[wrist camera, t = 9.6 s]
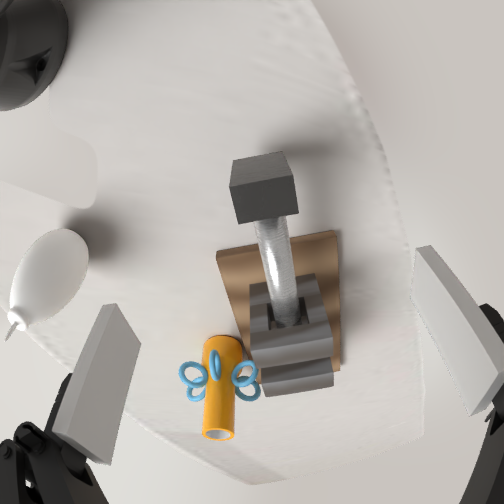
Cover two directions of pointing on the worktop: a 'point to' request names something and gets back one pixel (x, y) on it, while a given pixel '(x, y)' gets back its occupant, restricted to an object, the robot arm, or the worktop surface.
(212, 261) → the worktop surface
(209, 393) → the cylinder
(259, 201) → the shaft
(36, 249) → the sauce bottle
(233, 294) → the jig
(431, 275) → the robot arm
